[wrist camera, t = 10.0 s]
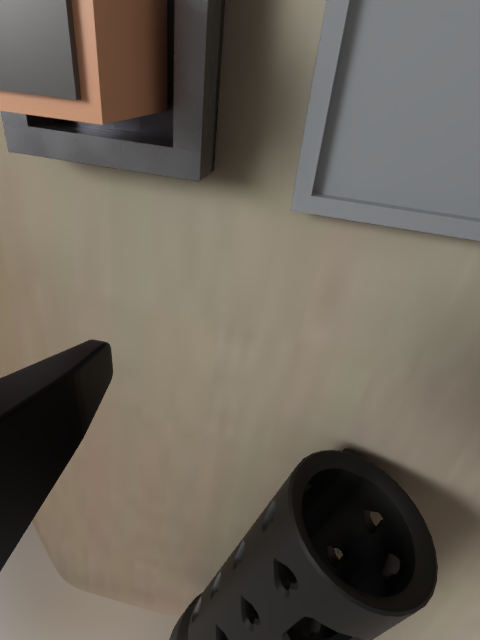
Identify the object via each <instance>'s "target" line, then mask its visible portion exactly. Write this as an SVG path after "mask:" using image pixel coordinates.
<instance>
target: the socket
mask: <svg viewBox="0 0 480 640" xmlns="http://www.w3.org/2000/svg"><path fill="white" fill-rule="evenodd" d="M224 6H225V0H167V111H164V112H159V113H155V114H150V115H146V116H141V117H136V118H132V119H127V120H123V121H118V122H113V123H109V124H104V125H100V124H93V123H86V122H78V121H71V120H64V119H57V118H49V117H42V116H35V115H28V114H20V113H13V112H6V111H1V116H2V121H3V126H4V131H5V136H6V142H7V147H8V152H14V153H20V154H27V155H33V156H39V157H46V158H52V159H58V160H65V161H71V162H78V163H84V164H90V165H97V166H103V167H110V168H116V169H122V170H129V171H135V172H142V173H148V174H154V175H161V176H167V177H174V178H180V179H186V180H193V181H201V180H202V179H203V178H205V177H206V176H207V175H208V174H210V173H211V172H212V171H213V170H214V161H215V146H216V130H217V115H218V99H219V83H220V68H221V52H222V37H223V21H224Z"/></svg>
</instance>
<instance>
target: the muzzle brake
mask: <svg viewBox="0 0 480 640" xmlns="http://www.w3.org/2000/svg"><path fill="white" fill-rule="evenodd" d="M370 511H374V512H378V513H380V514H381V516H382V517H383V520H381V521H380V522H379V524H378V525H377V526H376V525H375V524H374V523H373V521H372V519H371V517H370ZM334 548H338V549H340V550H341V551H342V553H343V556H342V557H341V558H340V560H339V559H338V557H337V556H336V554H335V551H334ZM437 570H438V565H437V558H436V551H435V547H434V544H433V540H432V537H431V534H430V532H429V530H428V527H427V525H426V523H425V521H424V519H423V517H422V516H421V514H420V512H419V510H418V509H417V507H416V505H415V504H414V503H413V501H412V500H411V499H410V497H409V496H408V495H407V493H406V492H405V491H404V490H403V489H402V488H401V487H400V486H399V485H398V483H397V482H396V481H395V480H393V479H392V478H391V477H390V476H389V475H388V474H386V473H385V472H384V471H383V470H381V469H380V468H378V467H377V466H375V465H374V464H372V463H370V462H368V461H366V460H365V458H364V457H363V455H362V454H359V453H357V452H354V451H352V450H350V449H347V448H345V449H344V450H343V452H341V451H335V450H328V451H320V452H316V453H312V454H311V455H309V456H307V457H306V458H304V459H303V460H302V461H301V462H300V463H299V464H298V465H297V467H296V468H295V469H294V471H293V472H292V473H291V475H290V476H289V477H288V479H287V480H286V481H285V483H284V484H283V485H282V487H281V488H280V489H279V491H278V492H277V493H276V495H275V496H274V497H273V499H272V500H271V501H270V503H269V504H268V506H267V507H266V508H265V510H264V511H263V512H262V514H261V515H260V516H259V518H258V519H257V520H256V522H255V523H254V524H253V526H252V527H251V528H250V530H249V531H248V532H247V534H246V535H245V536H244V538H243V539H242V541H241V542H240V543H239V545H238V546H237V547H236V549H235V550H234V551H233V553H232V554H231V555H230V557H229V558H228V559H227V561H226V562H225V563H224V565H223V566H222V567H221V569H220V570H219V571H218V573H217V574H216V576H215V577H214V578H213V580H212V581H211V582H210V584H209V585H208V586H207V588H206V589H205V590H204V592H203V593H201V594H200V595H199V596H197V597H196V598H195V599H194V600H193V602H192V603H191V604H190V605H189V606H188V608H187V609H186V610H185V612H184V613H183V614H182V616H181V617H180V619H179V620H178V622H177V624H176V625H175V627H174V629H173V631H172V634H171V637H170V639H169V640H373V639H374V638H376V637H377V636H379V635H380V634H382V633H384V632H385V631H387V630H388V629H390V628H392V627H393V626H395V625H396V624H398V623H400V622H401V621H403V620H404V619H406V618H407V617H409V616H411V615H412V614H414V613H415V612H417V611H418V610H420V609H421V608H423V607H424V606H425V605H426V604H427V603H428V601H429V600H430V598H431V597H432V595H433V593H434V589H435V586H436V583H437Z"/></svg>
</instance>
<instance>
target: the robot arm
mask: <svg viewBox="0 0 480 640" xmlns="http://www.w3.org/2000/svg"><path fill="white" fill-rule="evenodd" d="M112 375H113V365H112V354H111V347H110V344H109V343H107V342H103V341H99V340H88V341H86V342H84V343H81V344H79V345H77V346H74V347H72V348H70V349H67V350H65V351H63V352H60V353H58V354H56V355H53V356H51V357H49V358H47V359H44V360H42V361H40V362H37V363H35V364H33V365H30V366H28V367H26V368H23V369H21V370H19V371H16V372H14V373H12V374H9V375H7V376H5V377H2V378H0V571H1V569H2V568H3V566H4V565H5V563H6V561H7V560H8V558H9V557H10V555H11V553H12V552H13V550H14V548H15V547H16V545H17V544H18V542H19V541H20V539H21V537H22V536H23V534H24V533H25V531H26V529H27V528H28V526H29V525H30V523H31V521H32V520H33V518H34V517H35V515H36V513H37V512H38V510H39V509H40V507H41V505H42V504H43V502H44V501H45V499H46V497H47V496H48V494H49V493H50V491H51V489H52V488H53V486H54V485H55V483H56V481H57V480H58V478H59V477H60V475H61V473H62V472H63V470H64V469H65V467H66V465H67V464H68V462H69V461H70V459H71V457H72V456H73V454H74V453H75V451H76V449H77V448H78V446H79V444H80V443H81V441H82V439H83V438H84V436H85V434H86V432H87V430H88V428H89V426H90V424H91V422H92V419H93V417H94V415H95V413H96V411H97V409H98V407H99V405H100V403H101V401H102V399H103V396H104V394H105V392H106V390H107V388H108V386H109V384H110V382H111V379H112Z"/></svg>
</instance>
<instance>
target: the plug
mask: <svg viewBox="0 0 480 640" xmlns="http://www.w3.org/2000/svg"><path fill="white" fill-rule="evenodd" d="M0 111H6V112H13V113H20V114H28V115H35V116H42V117H49V118H57V119H64V120H71V121H78V122H86V123H93V124H100V125H104V124H109V123H113V122H118V121H123V120H127V119H132V118H136V117H141V116H146V115H150V114H155V113H159V112H164V111H167V0H0Z"/></svg>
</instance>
